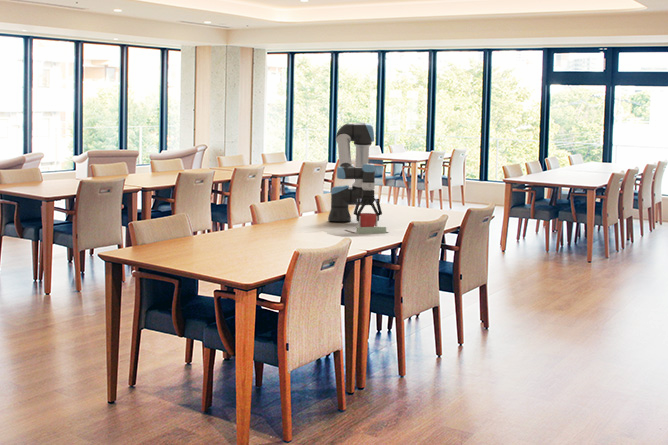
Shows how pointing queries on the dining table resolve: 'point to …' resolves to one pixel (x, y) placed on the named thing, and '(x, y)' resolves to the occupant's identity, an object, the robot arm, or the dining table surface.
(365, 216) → the flower pot
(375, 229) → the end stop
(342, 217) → the robot arm
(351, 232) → the guide strips
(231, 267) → the dining table surface
